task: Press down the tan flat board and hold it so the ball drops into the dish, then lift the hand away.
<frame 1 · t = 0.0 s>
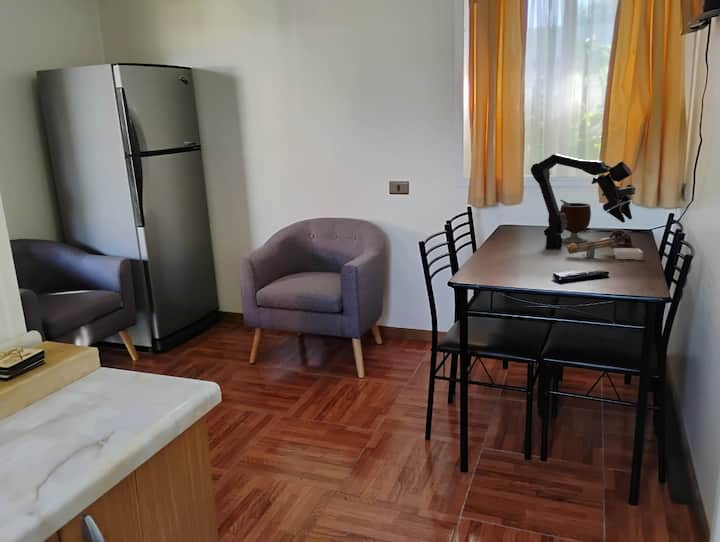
hand: (627, 220, 251), 15 cm above the table, tool tilted 35°, fingers open, 9 cm apart
ball: (573, 246, 254), point 5 cm above the table, tilted 26°, touching tan flat board
tan flat board: (588, 243, 257), point 5 cm above the table, hinge at -12.0°, touching ball
dish: (627, 257, 251), on the table
mate gourd: (572, 240, 290), on the table
pottery mug: (619, 245, 276), on the table
fulcrum: (590, 257, 254), on the table
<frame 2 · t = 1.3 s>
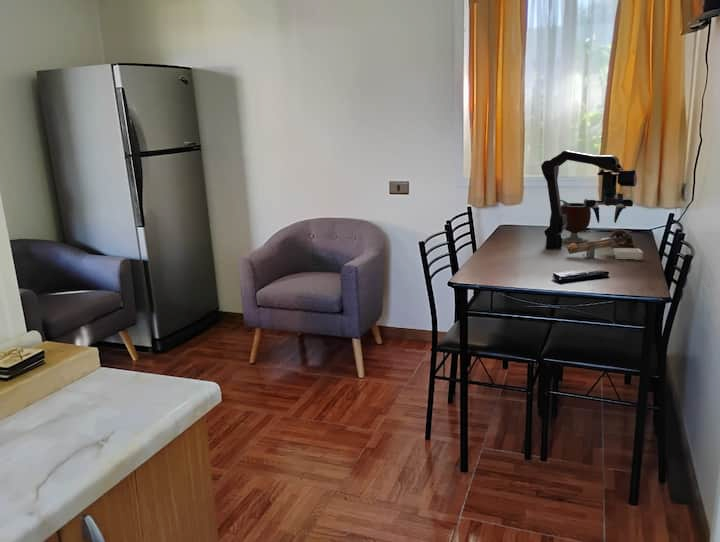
hand: (606, 222, 259), 13 cm above the table, tool pointing down, fingers open, 6 cm apart
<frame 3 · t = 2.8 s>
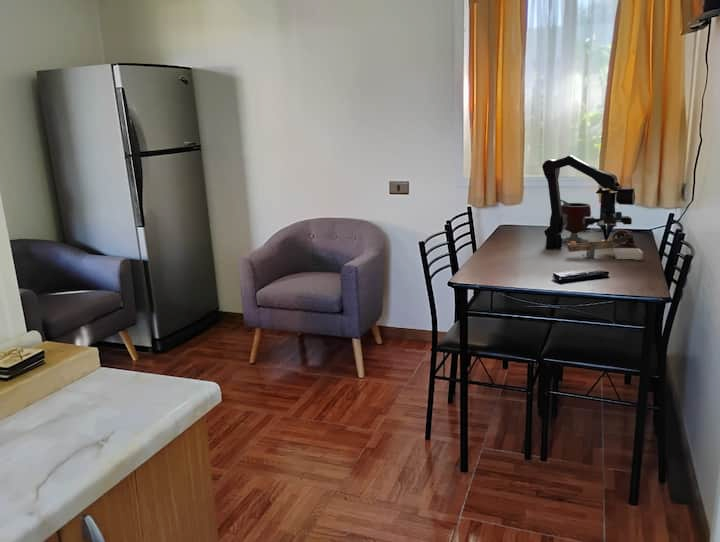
hand: (605, 240, 260), 5 cm above the table, tool pointing down, fingers closed, pressing on tan flat board
ball: (573, 244, 254), point 5 cm above the table, tilted 18°, touching tan flat board
tan flat board: (589, 243, 257), point 5 cm above the table, hinge at -6.1°, touching ball, gripper
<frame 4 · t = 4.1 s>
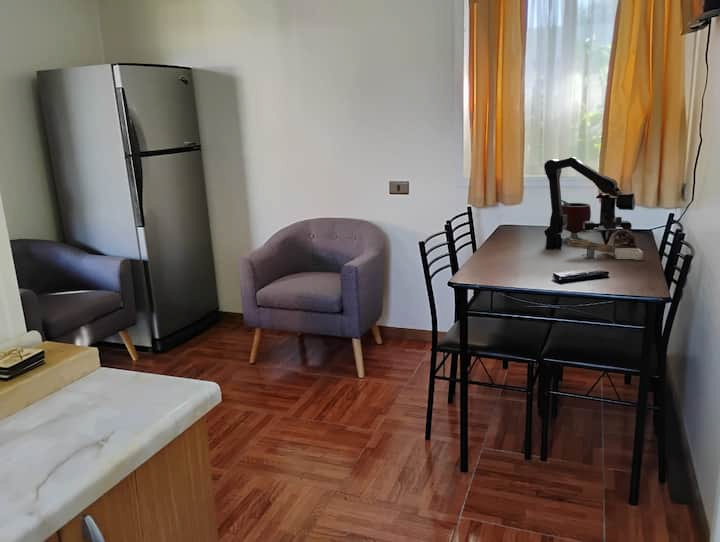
hand: (605, 245, 261), 3 cm above the table, tool pointing down, fingers closed, pressing on tan flat board
ball: (634, 252, 250), point 2 cm above the table, tilted 144°, touching dish
tan flat board: (589, 243, 257), point 5 cm above the table, hinge at 9.4°, touching gripper
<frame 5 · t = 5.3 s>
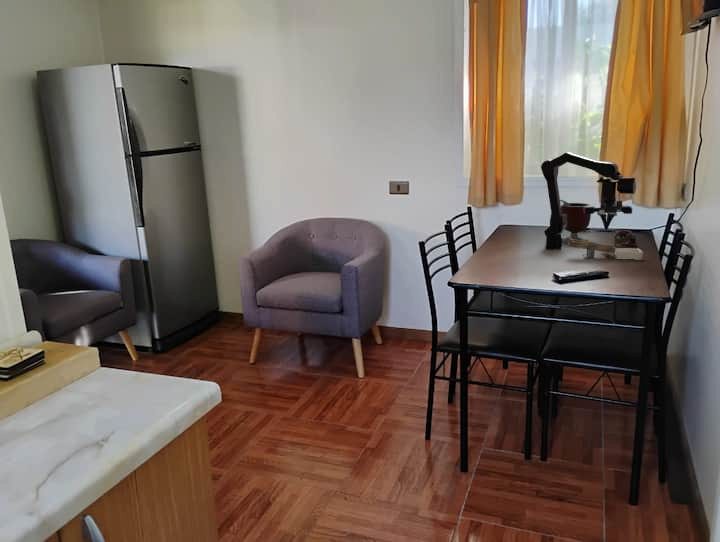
hand: (606, 229, 259), 10 cm above the table, tool pointing down, fingers closed
tan flat board: (589, 243, 257), point 5 cm above the table, hinge at 9.4°
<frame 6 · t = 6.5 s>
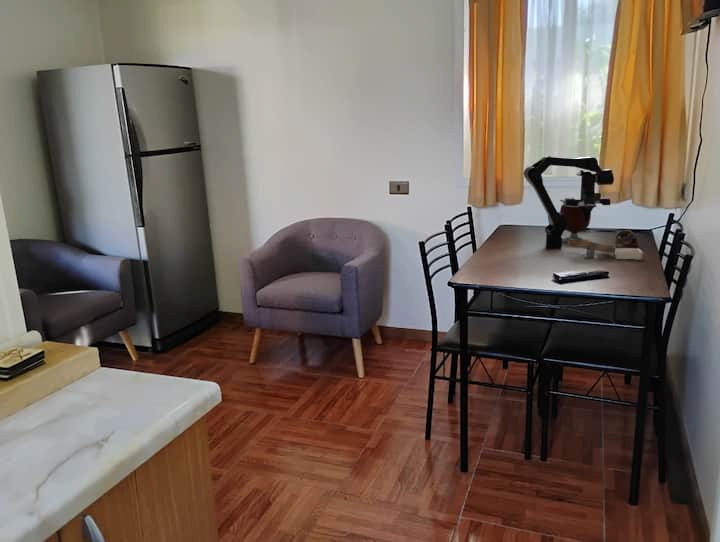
hand: (585, 220, 271), 12 cm above the table, tool pointing down, fingers closed
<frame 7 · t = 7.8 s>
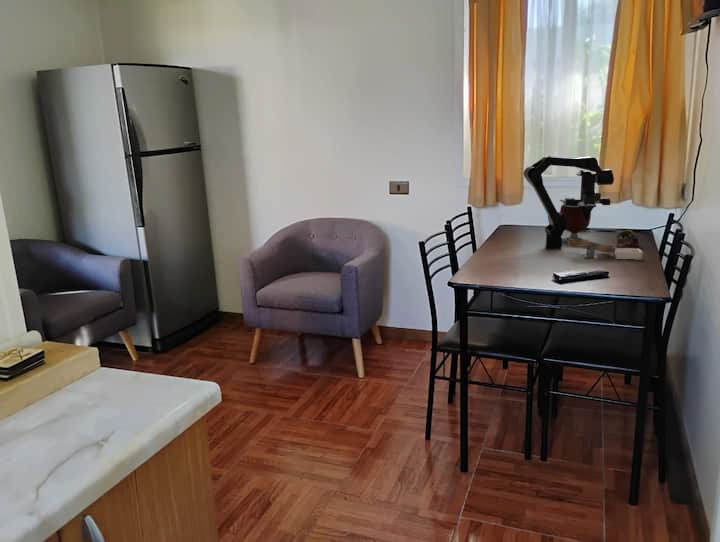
hand: (585, 220, 271), 12 cm above the table, tool pointing down, fingers closed
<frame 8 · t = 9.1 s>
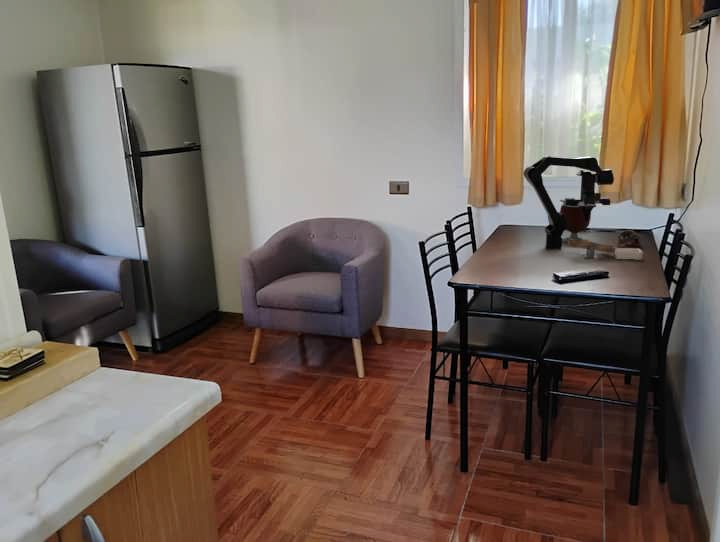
hand: (585, 220, 271), 12 cm above the table, tool pointing down, fingers closed
at the end: ball inside the target area on the dish (2.6 cm from its centre), point 2.1 cm above the dish's base; tan flat board at +9° (first picture: -12°); ball touching dish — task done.
